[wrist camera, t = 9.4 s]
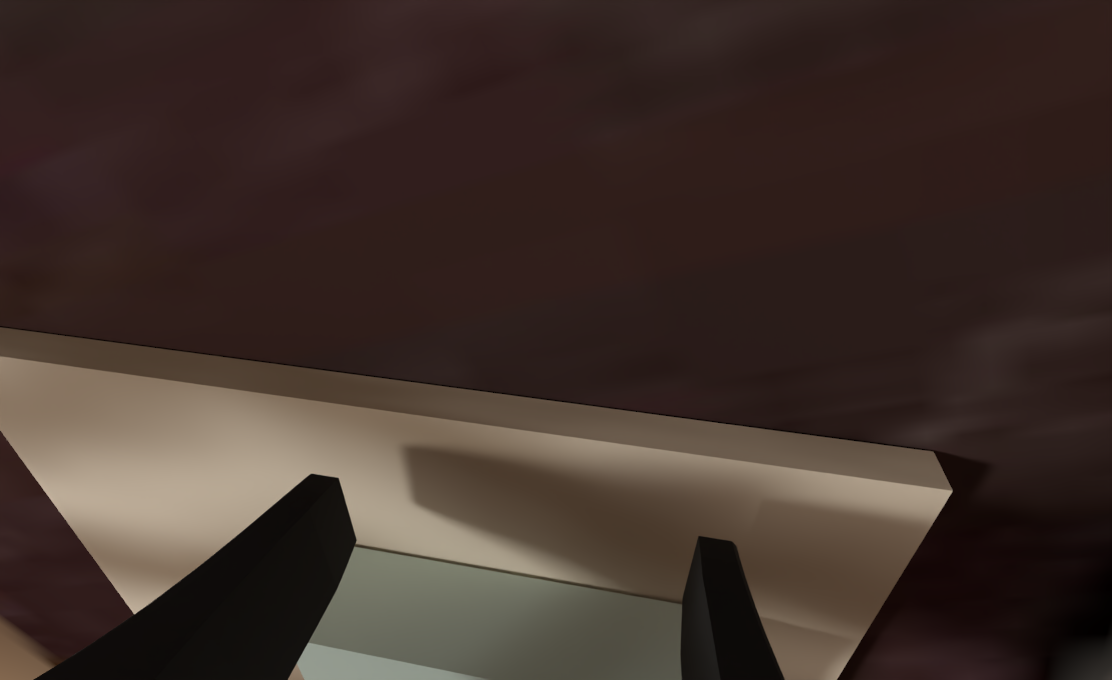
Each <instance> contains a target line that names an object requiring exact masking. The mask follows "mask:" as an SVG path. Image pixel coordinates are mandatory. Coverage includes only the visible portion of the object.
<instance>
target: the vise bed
mask: <svg viewBox="0 0 1112 680" xmlns="http://www.w3.org/2000/svg"><path fill="white" fill-rule="evenodd" d="M0 431H1V432H2V433H3V435H4V436H5V437H6V439H7V440H8V441H9V443H10V444H11V446H12V447H13V448H14V450H15V451H16V452H17V454H18V455H19V457H20V458H21V459H22V461H23V462H24V463H25V465H26V466H27V468H28V469H29V470H30V472H31V473H32V474H33V476H34V477H35V479H36V480H37V481H38V483H39V484H40V485H41V487H42V488H43V490H44V491H45V492H46V494H47V495H48V496H49V498H50V499H51V500H52V502H53V503H54V505H55V506H56V507H57V509H58V510H59V511H60V513H61V514H62V516H63V517H64V518H65V520H66V521H67V522H68V524H69V525H70V527H71V528H72V529H73V531H74V532H75V533H76V535H77V536H78V538H79V539H80V540H81V542H82V543H83V544H84V546H85V547H86V549H87V550H88V551H89V553H90V554H91V555H92V557H93V558H94V559H95V561H96V562H97V564H98V565H99V566H100V568H101V569H102V570H103V572H104V573H105V575H106V576H107V577H108V579H109V580H110V581H111V583H112V584H113V586H114V587H115V588H116V590H117V591H118V592H119V594H120V595H121V597H122V598H123V599H124V601H125V602H126V603H127V605H128V606H129V608H130V609H131V610H132V612H133V613H134V614H136V613H137V612H138V611H140V610H141V609H143V608H144V607H145V606H147V605H148V604H150V603H151V602H152V601H154V600H155V599H157V598H158V597H159V596H160V595H162V594H163V593H164V592H166V591H167V590H168V589H170V588H171V587H172V586H174V585H175V584H176V583H178V582H179V581H180V580H182V579H183V578H184V577H185V576H187V575H188V574H189V573H191V572H192V571H193V570H195V569H196V568H197V567H199V566H200V565H201V564H202V563H204V562H205V561H206V560H207V559H209V558H210V557H211V556H212V555H214V554H215V553H216V552H217V551H219V550H220V549H221V548H222V547H223V546H225V545H226V544H227V543H228V542H230V541H231V540H232V539H233V538H234V537H236V536H237V535H238V534H239V533H241V532H242V531H243V530H244V529H245V528H247V527H248V526H249V525H250V524H251V523H253V522H254V521H255V520H256V519H257V518H258V517H260V516H261V515H262V514H263V513H264V512H266V511H267V510H268V509H269V508H270V507H272V506H273V505H274V504H275V503H276V502H277V501H279V500H280V499H281V498H282V497H283V496H284V495H286V494H287V493H288V492H289V491H290V490H292V489H293V488H294V487H295V486H296V485H298V484H299V483H300V482H301V481H302V480H304V479H305V478H306V477H307V476H309V475H310V474H311V473H312V474H318V475H324V476H330V477H337V478H339V480H340V484H341V487H342V491H343V494H344V498H345V501H346V505H347V508H348V512H349V515H350V518H351V522H352V525H353V529H354V532H355V536H356V539H357V541H356V544H355V546H354V547H359V548H365V549H370V550H376V551H382V552H387V553H393V554H399V555H404V556H410V557H416V558H421V559H427V560H433V561H438V562H444V563H450V564H455V565H461V566H467V567H472V568H478V569H484V570H489V571H495V572H501V573H506V574H512V575H518V576H523V577H529V578H535V579H540V580H546V581H552V582H557V583H563V584H569V585H574V586H580V587H586V588H591V589H597V590H603V591H608V592H614V593H620V594H625V595H631V596H637V597H642V598H648V599H654V600H659V601H665V602H671V603H676V604H682V598H683V594H684V590H685V586H686V582H687V578H688V574H689V570H690V567H691V563H692V559H693V555H694V551H695V547H696V543H697V539H698V536H703V537H709V538H716V539H722V540H728V541H732V542H733V543H734V544H735V545H736V546H737V549H738V553H739V557H740V560H741V564H742V567H743V570H744V574H745V577H746V580H747V583H748V586H749V589H750V592H751V595H752V598H753V600H754V603H755V606H756V609H757V611H758V614H759V617H760V620H761V622H762V625H763V628H764V630H765V633H766V635H767V638H768V640H769V643H770V645H771V647H772V650H773V652H774V655H775V657H776V659H777V662H778V664H779V667H780V669H781V671H782V674H783V676H784V679H785V680H837V679H838V677H839V675H840V674H841V672H842V670H843V669H844V667H845V666H846V664H847V662H848V661H849V659H850V657H851V656H852V654H853V653H854V651H855V649H856V648H857V646H858V644H859V643H860V641H861V639H862V638H863V636H864V635H865V633H866V631H867V630H868V628H869V626H870V625H871V623H872V622H873V620H874V618H875V617H876V615H877V613H878V612H879V610H880V609H881V607H882V605H883V604H884V602H885V600H886V599H887V597H888V596H889V594H890V592H891V591H892V589H893V587H894V586H895V584H896V583H897V581H898V579H899V578H900V576H901V574H902V573H903V571H904V570H905V568H906V566H907V565H908V563H909V561H910V560H911V558H912V557H913V555H914V553H915V552H916V550H917V548H918V547H919V545H920V544H921V542H922V540H923V539H924V537H925V535H926V534H927V532H928V531H929V529H930V527H931V526H932V524H933V522H934V521H935V519H936V518H937V516H938V514H939V513H940V511H941V509H942V508H943V506H944V505H945V503H946V501H947V500H948V498H949V496H950V495H951V493H952V492H953V490H952V488H951V486H950V484H949V482H948V480H947V478H946V476H945V474H944V472H943V470H942V468H941V466H940V464H939V462H938V460H937V458H936V456H935V453H934V452H933V451H925V450H918V449H910V448H903V447H895V446H888V445H880V444H873V443H865V442H858V441H850V440H843V439H835V438H828V437H820V436H813V435H805V434H798V433H790V432H783V431H775V430H768V429H760V428H753V427H745V426H738V425H730V424H723V423H715V422H708V421H700V420H693V419H685V418H678V417H670V416H663V415H655V414H648V413H640V412H633V411H625V410H618V409H610V408H603V407H595V406H588V405H580V404H573V403H565V402H558V401H550V400H543V399H535V398H527V397H520V396H512V395H505V394H497V393H490V392H482V391H475V390H467V389H460V388H452V387H445V386H437V385H430V384H422V383H415V382H407V381H400V380H392V379H385V378H377V377H370V376H362V375H355V374H347V373H340V372H332V371H325V370H317V369H310V368H302V367H295V366H287V365H280V364H272V363H265V362H257V361H250V360H242V359H235V358H227V357H220V356H212V355H205V354H197V353H190V352H182V351H175V350H167V349H160V348H152V347H145V346H137V345H130V344H122V343H115V342H107V341H100V340H92V339H85V338H77V337H70V336H62V335H55V334H47V333H40V332H32V331H25V330H17V329H10V328H2V327H0ZM288 680H304V678H303V676H302V674H301V671H300V669H299V667H298V665H297V664H296V666H295V668H294V669H293V671H292V673H291V675H290V677H289V678H288Z"/></svg>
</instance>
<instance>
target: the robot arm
mask: <svg viewBox="0 0 1112 680" xmlns="http://www.w3.org/2000/svg"><path fill="white" fill-rule="evenodd" d="M356 541H357V539H356V536H355V532H354V529H353V525H352V522H351V518H350V515H349V512H348V508H347V505H346V501H345V498H344V494H343V491H342V487H341V484H340V480H339V478H337V477H330V476H324V475H318V474H312V473H311V474H310V475H309V476H307V477H306V478H305V479H304V480H302V481H301V482H300V483H299V484H298V485H296V486H295V487H294V488H293V489H292V490H290V491H289V492H288V493H287V494H286V495H284V496H283V497H282V498H281V499H280V500H279V501H277V502H276V503H275V504H274V505H273V506H272V507H270V508H269V509H268V510H267V511H266V512H264V513H263V514H262V515H261V516H260V517H258V518H257V519H256V520H255V521H254V522H253V523H251V524H250V525H249V526H248V527H247V528H245V529H244V530H243V531H242V532H241V533H239V534H238V535H237V536H236V537H234V538H233V539H232V540H231V541H230V542H228V543H227V544H226V545H225V546H223V547H222V548H221V549H220V550H219V551H217V552H216V553H215V554H214V555H212V556H211V557H210V558H209V559H207V560H206V561H205V562H204V563H202V564H201V565H200V566H199V567H197V568H196V569H195V570H193V571H192V572H191V573H189V574H188V575H187V576H185V577H184V578H183V579H182V580H180V581H179V582H178V583H176V584H175V585H174V586H172V587H171V588H170V589H168V590H167V591H166V592H164V593H163V594H162V595H160V596H159V597H158V598H157V599H155V600H154V601H152V602H151V603H150V604H148V605H147V606H145V607H144V608H143V609H141V610H140V611H138V612H137V613H136V614H134V615H133V616H131V617H130V618H129V619H127V620H126V621H124V622H123V623H121V624H120V625H118V626H117V627H116V628H114V629H113V630H111V631H110V632H108V633H107V634H105V635H104V636H102V637H101V638H99V639H98V640H96V641H95V642H93V643H92V644H90V645H89V646H87V647H86V648H84V649H82V650H81V651H79V652H78V653H76V654H74V655H73V656H71V657H70V658H68V659H67V660H65V661H63V662H62V663H60V664H59V665H57V666H55V667H54V668H52V669H50V670H49V671H47V672H45V673H44V674H42V675H41V676H39V677H37V678H36V679H34V680H288V678H289V677H290V675H291V673H292V671H293V669H294V668H295V666H296V664H297V662H298V660H299V658H300V657H301V655H302V653H303V651H304V649H305V648H306V646H307V644H308V642H309V640H310V639H311V637H312V635H313V633H314V631H315V629H316V628H317V626H318V624H319V622H320V620H321V618H322V617H323V615H324V613H325V611H326V609H327V607H328V605H329V604H330V602H331V600H332V598H333V596H334V594H335V592H336V590H337V588H338V586H339V584H340V581H341V579H342V576H343V574H344V572H345V569H346V567H347V564H348V562H349V559H350V557H351V554H352V552H353V549H354V546H355V544H356ZM680 657H681V676H682V680H785V679H784V676H783V674H782V671H781V669H780V667H779V664H778V662H777V659H776V657H775V655H774V652H773V650H772V647H771V645H770V643H769V640H768V638H767V635H766V633H765V630H764V628H763V625H762V622H761V620H760V617H759V614H758V611H757V609H756V606H755V603H754V600H753V598H752V595H751V592H750V589H749V586H748V583H747V580H746V577H745V574H744V570H743V567H742V564H741V560H740V557H739V553H738V549H737V546H736V545H735V544H734V543H733V542H732V541H728V540H722V539H716V538H709V537H703V536H698V539H697V543H696V547H695V551H694V555H693V559H692V563H691V567H690V570H689V574H688V578H687V582H686V586H685V590H684V594H683V598H682V621H681V650H680Z"/></svg>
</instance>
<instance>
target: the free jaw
mask: <svg viewBox="0 0 1112 680" xmlns="http://www.w3.org/2000/svg"><path fill="white" fill-rule="evenodd" d="M681 621H682V604H676V603H671V602H665V601H659V600H654V599H648V598H642V597H637V596H631V595H625V594H620V593H614V592H608V591H603V590H597V589H591V588H586V587H580V586H574V585H569V584H563V583H557V582H552V581H546V580H540V579H535V578H529V577H523V576H518V575H512V574H506V573H501V572H495V571H489V570H484V569H478V568H472V567H467V566H461V565H455V564H450V563H444V562H438V561H433V560H427V559H421V558H416V557H410V556H404V555H399V554H393V553H387V552H382V551H376V550H370V549H365V548H359V547H354V549H353V552H352V554H351V557H350V559H349V562H348V564H347V567H346V569H345V572H344V574H343V576H342V579H341V581H340V584H339V586H338V588H337V590H336V592H335V594H334V596H333V598H332V600H331V602H330V604H329V605H328V607H327V609H326V611H325V613H324V615H323V617H322V618H321V620H320V622H319V624H318V626H317V628H316V629H315V631H314V633H313V635H312V637H311V639H310V640H309V642H308V644H307V646H306V648H305V649H304V651H303V653H302V655H301V657H300V658H299V660H298V662H297V665H298V667H299V669H300V671H301V674H302V676H303V678H304V680H682V676H681V657H680V650H681Z"/></svg>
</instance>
